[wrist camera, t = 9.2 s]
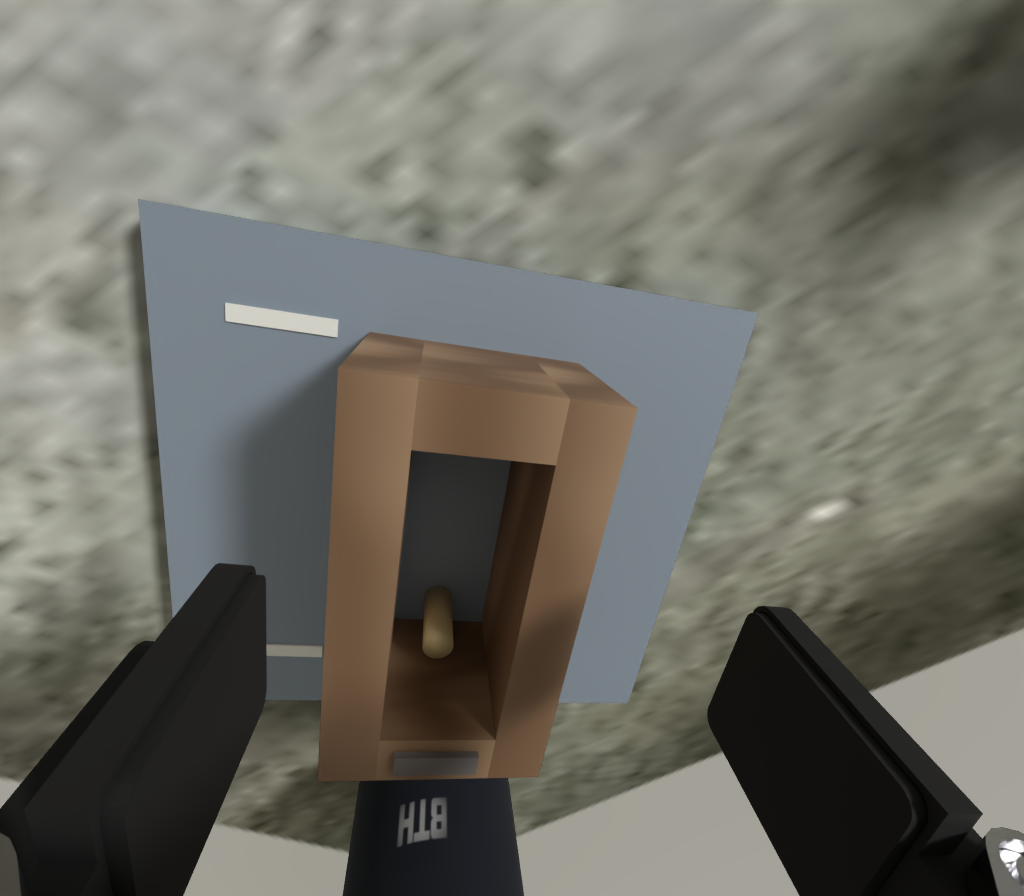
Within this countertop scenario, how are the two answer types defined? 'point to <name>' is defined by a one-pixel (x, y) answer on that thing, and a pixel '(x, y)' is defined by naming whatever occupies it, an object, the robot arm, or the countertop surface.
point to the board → (433, 476)
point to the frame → (515, 568)
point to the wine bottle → (434, 839)
